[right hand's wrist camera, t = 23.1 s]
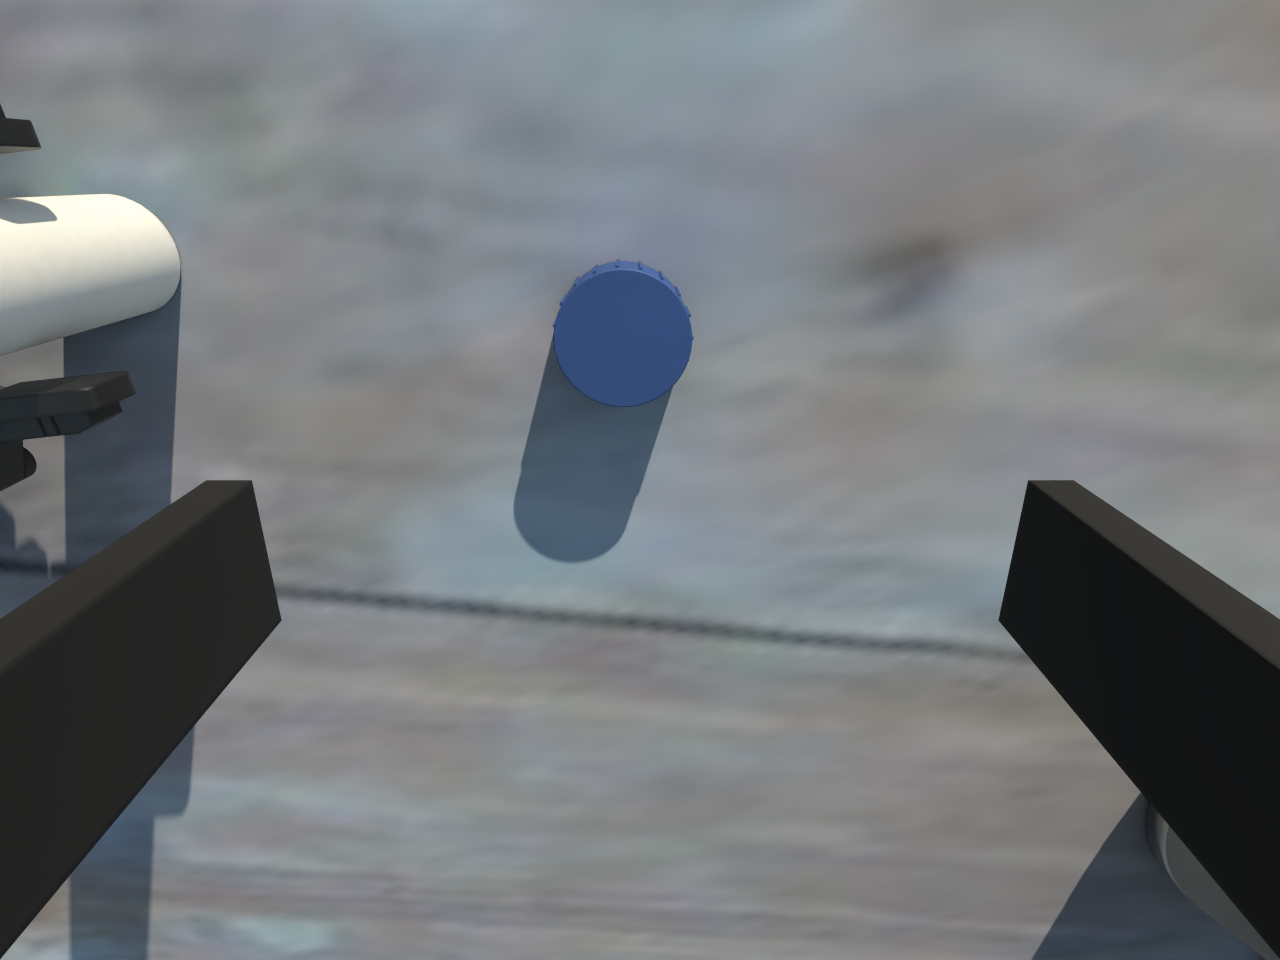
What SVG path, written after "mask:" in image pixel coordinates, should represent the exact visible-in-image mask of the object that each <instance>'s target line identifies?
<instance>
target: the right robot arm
mask: <svg viewBox="0 0 1280 960" xmlns="http://www.w3.org/2000/svg"><path fill="white" fill-rule="evenodd" d="M280 621H281V616H280V611H279V607H278V602H277V597H276V592H275V588H274V583H273V578H272V574H271V569H270V564H269V559H268V555H267V550H266V545H265V541H264V536H263V531H262V526H261V522H260V517H259V512H258V508H257V503H256V498H255V493H254V489H253V484H252V480H206V481H205V482H203V483H202V484H200V485H199V486H198V487H196V488H195V489H193V490H192V491H190V492H189V493H187V494H186V495H184V496H183V497H181V498H180V499H178V500H177V501H175V502H174V503H172V504H171V505H169V506H168V507H166V508H165V509H163V510H162V511H160V512H159V513H157V514H156V515H154V516H153V517H152V518H150V519H149V520H147V521H146V522H144V523H143V524H141V525H140V526H138V527H137V528H135V529H134V530H132V531H131V532H129V533H128V534H126V535H125V536H123V537H122V538H120V539H119V540H117V541H116V542H114V543H113V544H111V545H110V546H108V547H107V548H105V549H104V550H103V551H101V552H100V553H98V554H97V555H95V556H94V557H92V558H91V559H89V560H88V561H86V562H85V563H83V564H82V565H80V566H79V567H77V568H76V569H74V570H73V571H71V572H70V573H68V574H67V575H65V576H64V577H62V578H61V579H59V580H58V581H56V582H55V583H54V584H52V585H51V586H49V587H48V588H46V589H45V590H43V591H42V592H40V593H39V594H37V595H36V596H34V597H33V598H31V599H30V600H28V601H27V602H25V603H24V604H22V605H21V606H19V607H18V608H16V609H15V610H13V611H12V612H10V613H9V614H8V615H6V616H5V617H3V618H2V619H0V959H1V958H2V956H3V955H4V954H5V953H6V952H7V950H8V949H9V948H10V947H11V946H12V944H13V943H14V942H15V941H16V940H17V938H18V937H19V936H20V935H21V933H22V932H23V931H24V930H25V929H26V927H27V926H28V925H29V924H30V923H31V921H32V920H33V919H34V918H35V917H36V915H37V914H38V913H39V912H40V911H41V909H42V908H43V907H44V906H45V905H46V903H47V902H48V901H49V900H50V899H51V897H52V896H53V895H54V894H55V893H56V891H57V890H58V889H59V888H60V886H61V885H62V884H63V883H64V882H65V880H66V879H67V878H68V877H69V876H70V874H71V873H72V872H73V871H74V870H75V868H76V867H77V866H78V865H79V864H80V862H81V861H82V860H83V859H84V858H85V856H86V855H87V854H88V853H89V852H90V850H91V849H92V848H93V847H94V846H95V844H96V843H97V842H98V841H99V840H100V838H101V837H102V836H103V835H104V833H105V832H106V831H107V830H108V829H109V827H110V826H111V825H112V824H113V823H114V821H115V820H116V819H117V818H118V817H119V815H120V814H121V813H122V812H123V811H124V809H125V808H126V807H127V806H128V805H129V803H130V802H131V801H132V800H133V799H134V797H135V796H136V795H137V794H138V793H139V791H140V790H141V789H142V788H143V787H144V785H145V784H146V783H147V782H148V780H149V779H150V778H151V777H152V776H153V774H154V773H155V772H156V771H157V770H158V768H159V767H160V766H161V765H162V764H163V762H164V761H165V760H166V759H167V758H168V756H169V755H170V754H171V753H172V752H173V750H174V749H175V748H176V747H177V746H178V744H179V743H180V742H181V741H182V740H183V738H184V737H185V736H186V735H187V734H188V732H189V731H190V730H191V729H192V727H193V726H194V725H195V724H196V723H197V721H198V720H199V719H200V718H201V717H202V715H203V714H204V713H205V712H206V711H207V709H208V708H209V707H210V706H211V705H212V703H213V702H214V701H215V700H216V699H217V697H218V696H219V695H220V694H221V693H222V691H223V690H224V689H225V688H226V687H227V685H228V684H229V683H230V682H231V681H232V679H233V678H234V677H235V676H236V674H237V673H238V672H239V671H240V670H241V668H242V667H243V666H244V665H245V664H246V662H247V661H248V660H249V659H250V658H251V656H252V655H253V654H254V653H255V652H256V650H257V649H258V648H259V647H260V646H261V644H262V643H263V642H264V641H265V640H266V638H267V637H268V636H269V635H270V634H271V632H272V631H273V630H274V629H275V628H276V626H277V625H278V624H279V623H280ZM999 621H1000V623H1001V624H1002V625H1003V626H1004V628H1005V629H1006V630H1007V631H1008V632H1009V634H1010V635H1011V636H1012V637H1013V638H1014V640H1015V641H1016V642H1017V643H1018V644H1019V646H1020V647H1021V648H1022V649H1023V650H1024V652H1025V653H1026V654H1027V655H1028V656H1029V658H1030V659H1031V660H1032V661H1033V662H1034V664H1035V665H1036V666H1037V667H1038V668H1039V670H1040V671H1041V672H1042V673H1043V674H1044V676H1045V677H1046V678H1047V679H1048V681H1049V682H1050V683H1051V684H1052V685H1053V687H1054V688H1055V689H1056V690H1057V691H1058V693H1059V694H1060V695H1061V696H1062V697H1063V699H1064V700H1065V701H1066V702H1067V703H1068V705H1069V706H1070V707H1071V708H1072V709H1073V711H1074V712H1075V713H1076V714H1077V715H1078V717H1079V718H1080V719H1081V720H1082V721H1083V723H1084V724H1085V725H1086V726H1087V727H1088V729H1089V730H1090V731H1091V732H1092V734H1093V735H1094V736H1095V737H1096V738H1097V740H1098V741H1099V742H1100V743H1101V744H1102V746H1103V747H1104V748H1105V749H1106V750H1107V752H1108V753H1109V754H1110V755H1111V756H1112V758H1113V759H1114V760H1115V761H1116V762H1117V764H1118V765H1119V766H1120V767H1121V768H1122V770H1123V771H1124V772H1125V773H1126V774H1127V776H1128V777H1129V778H1130V779H1131V780H1132V782H1133V783H1134V784H1135V785H1136V787H1137V788H1138V789H1139V790H1140V791H1141V793H1142V794H1143V795H1144V796H1145V797H1146V799H1147V800H1148V801H1149V802H1150V804H1149V809H1148V814H1147V835H1148V839H1149V843H1150V846H1151V849H1152V851H1153V853H1154V855H1155V857H1156V859H1157V860H1158V862H1159V863H1160V864H1161V866H1162V867H1163V868H1164V870H1165V871H1166V872H1167V873H1168V875H1169V876H1170V877H1171V879H1172V880H1173V881H1174V883H1175V884H1176V885H1177V886H1178V888H1179V889H1180V890H1181V891H1182V892H1183V893H1184V894H1185V895H1186V896H1187V897H1188V898H1189V899H1190V900H1191V901H1192V902H1193V903H1194V904H1195V905H1196V906H1197V907H1198V908H1199V909H1200V910H1202V911H1203V912H1204V913H1205V914H1207V915H1208V916H1209V917H1211V918H1212V919H1213V920H1215V921H1216V922H1217V923H1218V924H1220V925H1221V926H1222V927H1224V928H1225V929H1226V930H1227V931H1229V932H1230V933H1231V934H1233V935H1234V936H1235V937H1237V938H1238V939H1239V940H1241V941H1242V942H1243V943H1245V944H1246V945H1247V946H1248V947H1250V948H1251V949H1252V950H1254V951H1255V952H1256V953H1258V954H1259V955H1260V956H1262V957H1263V958H1264V959H1265V960H1280V619H1278V618H1277V617H1275V616H1274V615H1272V614H1271V613H1270V612H1268V611H1267V610H1265V609H1264V608H1262V607H1261V606H1259V605H1258V604H1256V603H1255V602H1253V601H1252V600H1250V599H1249V598H1247V597H1246V596H1244V595H1243V594H1241V593H1240V592H1238V591H1237V590H1235V589H1234V588H1232V587H1231V586H1229V585H1228V584H1226V583H1225V582H1224V581H1222V580H1221V579H1219V578H1218V577H1216V576H1215V575H1213V574H1212V573H1210V572H1209V571H1207V570H1206V569H1204V568H1203V567H1201V566H1200V565H1198V564H1197V563H1195V562H1194V561H1192V560H1191V559H1189V558H1188V557H1186V556H1185V555H1183V554H1182V553H1180V552H1179V551H1177V550H1176V549H1175V548H1173V547H1172V546H1170V545H1169V544H1167V543H1166V542H1164V541H1163V540H1161V539H1160V538H1158V537H1157V536H1155V535H1154V534H1152V533H1151V532H1149V531H1148V530H1146V529H1145V528H1143V527H1142V526H1140V525H1139V524H1137V523H1136V522H1134V521H1133V520H1131V519H1130V518H1128V517H1127V516H1126V515H1124V514H1123V513H1121V512H1120V511H1118V510H1117V509H1115V508H1114V507H1112V506H1111V505H1109V504H1108V503H1106V502H1105V501H1103V500H1102V499H1100V498H1099V497H1097V496H1096V495H1094V494H1093V493H1091V492H1090V491H1088V490H1087V489H1085V488H1084V487H1082V486H1081V485H1080V484H1078V483H1077V482H1075V481H1074V480H1028V484H1027V489H1026V493H1025V498H1024V503H1023V508H1022V512H1021V517H1020V522H1019V526H1018V531H1017V536H1016V541H1015V545H1014V550H1013V555H1012V559H1011V564H1010V569H1009V574H1008V578H1007V583H1006V588H1005V592H1004V597H1003V602H1002V607H1001V611H1000V616H999Z"/></svg>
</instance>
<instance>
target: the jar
mask: <svg viewBox="0 0 1280 960" xmlns="http://www.w3.org/2000/svg"><path fill="white" fill-rule="evenodd" d="M179 279H180V259H179V255H178V251H177V248H176V246H175V243H174V241H173V239H172V237H171V235H170V234H169V232H168V231H167V229H166V228H165V227H164V225H163V224H162V223H161V222H160V221H159V220H158V219H157V218H156V217H155V216H154V215H153V214H152V213H151V212H150V211H148V210H147V209H146V208H144V207H143V206H141V205H140V204H138V203H136V202H134V201H132V200H129V199H127V198H124V197H121V196H117V195H110V194H94V195H71V196H47V197H23V198H0V356H1V355H5V354H8V353H12V352H15V351H18V350H22V349H25V348H29V347H32V346H36V345H39V344H42V343H46V342H49V341H53V340H56V339H59V338H63V337H66V336H70V335H73V334H77V333H80V332H83V331H87V330H90V329H94V328H97V327H100V326H104V325H107V324H111V323H114V322H118V321H121V320H124V319H128V318H131V317H135V316H138V315H141V314H145V313H148V312H152V311H154V310H157V309H159V308H160V307H162V306H163V305H165V304H166V303H167V302H168V301H169V300H170V299H171V297H172V296H173V295H174V293H175V291H176V289H177V286H178V283H179Z"/></svg>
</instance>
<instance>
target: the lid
mask: <svg viewBox="0 0 1280 960" xmlns="http://www.w3.org/2000/svg"><path fill="white" fill-rule="evenodd" d="M680 296H681V295H680V292H679V290H678V288H677V286H676V287H674V286H673V285H672V284H671V283H670V282H669V281H668V280H667V279H666V278H665V277H664V276H663V274H662V272H661V271H659V272H657V271H655V270H654V269H652V268H650V267H647V266H645V265H642V262H639V264H638V263H634V262H620V260H616V262H613V263H607V264H604V265H601V266H598V265H595V267H594V269H592V270H590V271H589V272H587V273H586V274H584V275H583V276H582V277H581V278H579V277H578V278H576V280H575V283H574V285H573V286H572V288H571V289H570V291H569V292H568V294H567V295H564V297H563V298H562V300H561V302H560V305H561V308H560V310H559V312H558V315H557V318H556V320H555V322H554V324H553V327H554V350H555V353H556V357H557V360H558V363H559V365H560V367H561V369H562V371H563V373H564V375H565V376H566V378H567V379H568V380H569V382H570V383H571V384H572V385H573V386H574V387H575V388H576V389H577V390H578V391H580V392H581V393H582V394H584V395H585V396H587V397H588V398H590V399H592V400H594V401H596V402H599V403H602V404H605V405H610V406H616V407H631V406H637V405H641V404H645V403H648V402H650V401H652V400H654V399H656V398H658V397H660V396H661V395H663V394H664V393H665V392H667V391H668V390H669V389H670V388H671V387H672V386H673V385H674V384H675V383H676V382H677V381H678V379H679V378H680V377H681V375H682V373H683V371H684V370H685V368H686V365H687V363H688V361H689V357H690V353H691V347H692V340H693V335H692V330H691V323H690V320H689V317H691V316H690V313H689V311H688V308H687V306H684V304H683V302H682V299H681V297H680Z"/></svg>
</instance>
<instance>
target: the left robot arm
mask: <svg viewBox="0 0 1280 960" xmlns="http://www.w3.org/2000/svg"><path fill="white" fill-rule="evenodd" d="M37 149H41V146H40V143H39V140H38V138H37V135H36V133H35V130H34V128H33V125H32V122H31V121H30V120H20V119H9V118H6V117H5V115H4V112H3V110H2V107H1V105H0V154H4V153H13V152H21V151H29V150H37ZM135 393H136V392H135V389H134V387H133V384H132V382H131V379H130V377H129V374H128V371H118V372H109V373H100V374H91V375H82V376H73V377H64V378H55V379H46V380H37V381H28V382H20V383H17V384H15V385H12V386H9V387H6V388H5V387H2V386H0V491H2V490H4V489H6V488H8V487H10V486H12V485H14V484H16V483H18V482H19V481H21V480H23V479H25V478H27V477H29V476H31V475H33V474H34V472H35V471H36V461H35V458H34V457H33V455H32V454H31V453H30V452H29V451H28V450H27V449H25V448H24V447H23V439H32V438H42V437H47V436H48V437H51V436H59V435H69V434H78V433H81V432H83V431H85V430H87V429H89V428H91V427H93V426H96V425H98V424H100V423H102V422H104V421H106V420H108V419H110V418H112V417H113V416H115V415H117V414H119V413H120V412H122V409H121V407H120V404H119V402H118V401H120V400H123V399H125V398H127V397H129V396H131V395H134V394H135Z"/></svg>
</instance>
